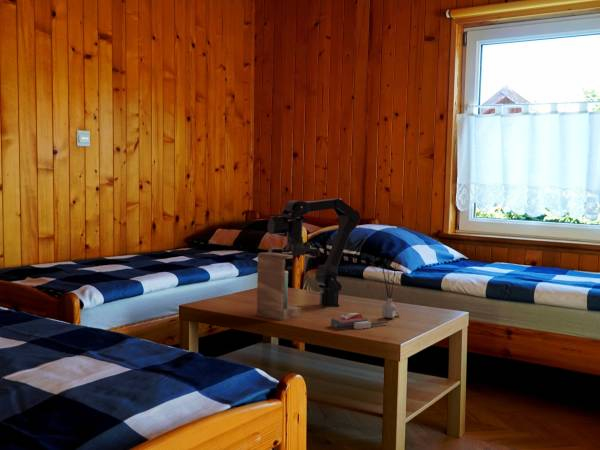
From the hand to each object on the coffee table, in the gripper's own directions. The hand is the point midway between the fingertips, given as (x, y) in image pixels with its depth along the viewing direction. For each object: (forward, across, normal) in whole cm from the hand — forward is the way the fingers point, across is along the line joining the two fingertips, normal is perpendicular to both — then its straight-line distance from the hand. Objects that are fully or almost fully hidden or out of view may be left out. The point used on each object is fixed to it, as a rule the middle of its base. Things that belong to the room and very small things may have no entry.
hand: (293, 274), depth 245 cm
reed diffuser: (+13, +30, -21) cm, 39 cm away
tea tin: (+10, -8, -11) cm, 17 cm away
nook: (+13, -8, -11) cm, 19 cm away
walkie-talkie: (+14, +15, -31) cm, 37 cm away
